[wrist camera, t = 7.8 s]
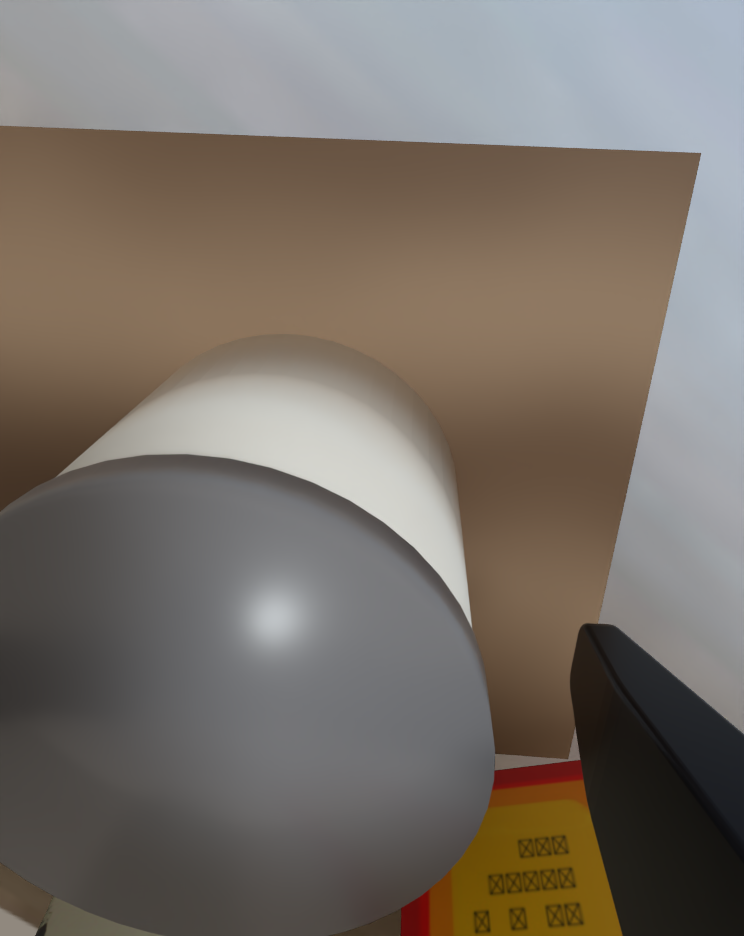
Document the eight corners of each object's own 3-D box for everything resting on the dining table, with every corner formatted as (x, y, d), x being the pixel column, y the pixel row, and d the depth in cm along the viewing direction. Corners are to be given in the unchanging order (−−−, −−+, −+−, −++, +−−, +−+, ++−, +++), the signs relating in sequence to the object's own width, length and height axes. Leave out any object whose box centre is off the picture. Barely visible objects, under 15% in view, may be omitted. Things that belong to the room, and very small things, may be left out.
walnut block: (538, 639, 18) (567, 759, 15) (104, 609, 19) (30, 718, 15) (624, 152, 13) (701, 152, 10) (26, 128, 14) (-113, 122, 10)
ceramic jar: (476, 333, 11) (529, 509, 6) (451, 641, 14) (470, 964, 8) (102, 321, 11) (-194, 476, 6) (147, 623, 14) (-29, 923, 8)
